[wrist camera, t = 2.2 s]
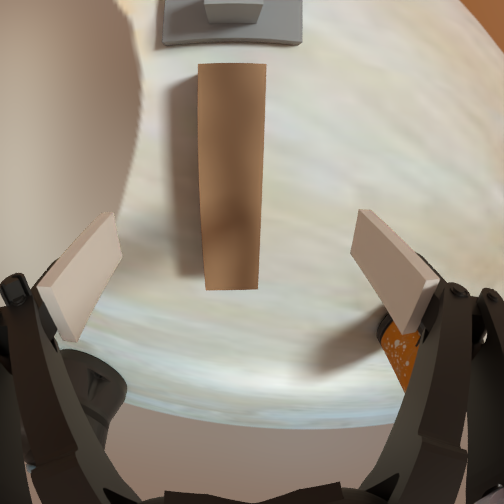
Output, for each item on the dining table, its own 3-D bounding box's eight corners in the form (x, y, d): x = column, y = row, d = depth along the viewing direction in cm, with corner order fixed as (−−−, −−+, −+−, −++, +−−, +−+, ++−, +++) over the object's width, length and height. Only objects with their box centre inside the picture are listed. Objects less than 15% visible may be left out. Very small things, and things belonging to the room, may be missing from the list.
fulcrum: (165, 45, 19) (145, 28, 13) (169, -6, 16) (152, -34, 10) (298, 45, 20) (320, 27, 14) (298, -6, 17) (318, -33, 11)
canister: (372, 347, 41) (417, 449, 23) (379, 297, 35) (448, 417, 18) (416, 331, 40) (468, 422, 23) (429, 281, 35) (503, 381, 18)
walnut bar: (208, 262, 31) (205, 290, 26) (203, 72, 21) (198, 64, 17) (253, 262, 31) (257, 289, 27) (259, 72, 21) (266, 64, 17)
